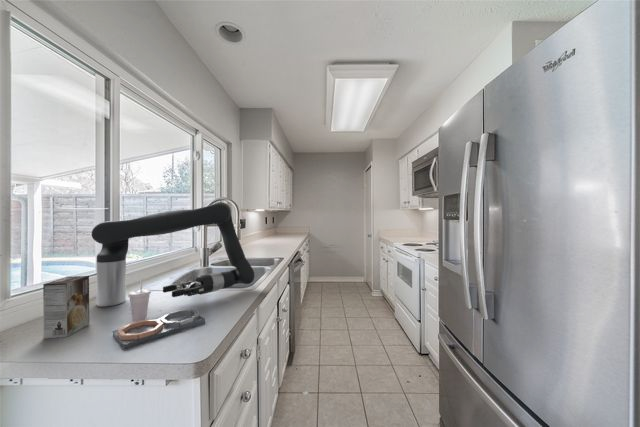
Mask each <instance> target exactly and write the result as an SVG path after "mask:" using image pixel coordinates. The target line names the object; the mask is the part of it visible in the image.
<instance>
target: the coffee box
mask: <svg viewBox="0 0 640 427" xmlns="http://www.w3.org/2000/svg"><path fill="white" fill-rule="evenodd" d="M42 286H43V288H42V289H43V290H42V291H43V295H42V296H43V297H42V298H43V303H42V304H43V339H55V338H56V339H58V338H68V337H70V336H71V335H73V334H74V333H77V332H78V331H80V330H82V329H84V328H85V327H87V326H88V325H89V324H90V275H81V276H80V275H78V276H66V277H65V276H64V277H63V278H59V279H56V280H53V281H49V282H46V283H44V284H42ZM57 337H58V338H57Z"/></svg>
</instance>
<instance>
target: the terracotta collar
mask: <svg viewBox="0 0 640 427" xmlns="http://www.w3.org/2000/svg"><path fill="white" fill-rule="evenodd" d="M158 319H159V318H157V319H146V320H142V321H138V322H131V323H128V324H126V325H123V327H120V328H119V329H117V330H118V331H117V335H118V337H119V338H120V339H121V340H131V339H140V338H143V337H147V336H150V335H153V334H155V333H157V332H158V331H159V330H161V329H162V328H163V323H162V322H161V321H160V320H158ZM141 325H156V327H155V328H154V329H151V330H148V331H145V332H141V333H133V334H125V333H124V332H126V331H127V330H129V329H131V328H134V327H138V326H141Z"/></svg>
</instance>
